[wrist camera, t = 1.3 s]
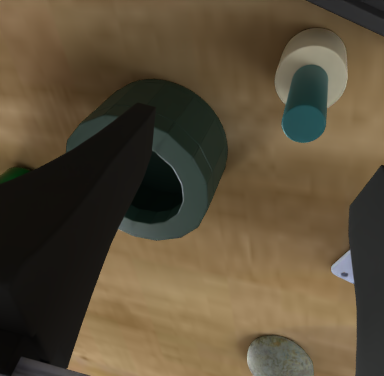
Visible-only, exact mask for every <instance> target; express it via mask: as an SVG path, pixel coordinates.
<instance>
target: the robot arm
mask: <svg viewBox="0 0 384 376" xmlns="http://www.w3.org/2000/svg"><path fill="white" fill-rule="evenodd" d="M155 113H156V107H154V106H150V105H146V104H142V103H138V102H137V103H136V104H134V105H133V106H131V107H130V108H129V109H128V110H126V111H125V112H124V113H123V114H121V115H120V116H119V117H118V118H116V119H115V120H114V121H112V122H111V123H110V124H109V125H107V126H106V127H104V128H103V129H102V130H100V131H99V132H98V133H96V134H95V135H93V136H92V137H90V138H89V139H87V140H86V141H84V142H83V143H81V144H80V145H78V146H77V147H75V148H73V149H72V150H70V151H69V152H67V153H65V154H63V155H62V156H60V157H58V158H56V159H55V160H53V161H51V162H49V163H47V164H45V165H43V166H41V167H39V168H37V169H35V170H32V171H30V172H28V173H25V174H23V175H21V176H18V177H16V178H14V179H11V180H9V181H7V182H4V183H1V184H0V376H89V375H86V374H82V373H78V372H75V371H71V370H68V369H66V368H68V365H69V361H70V358H71V355H72V352H73V349H74V346H75V343H76V340H77V337H78V334H79V331H80V328H81V325H82V322H83V319H84V316H85V313H86V311H87V308H88V305H89V302H90V299H91V296H92V293H93V291H94V288H95V285H96V283H97V280H98V277H99V274H100V272H101V269H102V266H103V264H104V261H105V258H106V256H107V253H108V251H109V248H110V245H111V243H112V241H113V238H114V236H115V234H116V232H117V230H118V228H119V226H120V224H121V222H122V220H123V218H124V216H125V214H126V212H127V210H128V208H129V206H130V204H131V202H132V200H133V198H134V196H135V194H136V192H137V190H138V188H139V186H140V184H141V182H142V180H143V178H144V175H145V172H146V169H147V167H148V164H149V161H150V158H151V155H152V145H153V135H154V124H155ZM349 244H350V250H349V251H348V252H346V253H345V254H344V255H343V256H342V257H341V258H340V259H339V260H338V261H337V262H335V263H334V264H333V265H332V267H331V272H332V273H333V274H334V275H336V276H338V277H340V278H343V279H345V280H347V281H349V282H351V283H353V284H354V286H355V294H356V306H357V351H356V375H355V376H384V165H381V166H380V168H379V169H378V170H377V171H376V173H375V174H374V175H373V177H372V178H371V179H370V181H369V182H368V183H367V184H366V186H365V187H364V188H363V190H362V191H361V192H360V194H359V195H358V196H357V197H356V199H355V200H354V201H353V203H352V204H351V205H350V209H349ZM343 272H345V273H343Z"/></svg>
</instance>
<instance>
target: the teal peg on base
mask: <svg viewBox="0 0 384 376" xmlns="http://www.w3.org/2000/svg"><path fill="white" fill-rule="evenodd" d="M347 79H348V71H347V53H346V48H345V45H344V43H343V41H342V40H341V38H340V37H339V36H338V35H336V34H335V33H334V32H332V31H330V30H327V29H323V28H311V29H307V30H304V31H302V32H300V33H298V34H296V35H295V36H294V37H293V38H292V39H291V40H290V41H289V42H288V43H287V45H286V47H285V48H284V51H283V53H282V56H281V59H280V62H279V65H278V68H277V71H276V74H275V89H276V92H277V94H278V96H279V98H280V99H281V101H282V102H283V103H284V104H285V105H286V106H285V110H284V114H283V118H282V129H283V132H284V133H285V135H286V136H287V137H288V138H290V139H291V140H293V141H296V142H301V143H305V142H310V141H313V140H315V139H317V138H318V137H319V136H321V134H322V133H323V132H324V130H325V127H326V116H327V108H328V107H330V106H331V105H333V104H334V103H335V102H336V101H337V100H338V99H339V98H340V97H341V95H342V94H343V92H344V90H345V88H346V85H347Z"/></svg>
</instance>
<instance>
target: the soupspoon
mask: <svg viewBox="0 0 384 376" xmlns="http://www.w3.org/2000/svg"><path fill="white" fill-rule="evenodd" d="M247 361H248V366H249V369H250V371H251V372H252V374H253V375H254V376H314V371H313V363H312V361H311V359H310V358H309V356H308V355H307V353H306V352H305V351H304V350H303V349H302V348H301V347H300V346H299V345H297V344H295V343H294V342H292V341H290V340H288V339H286V338H284V337H282V336H276V335H272V336H268V335H267V336H262V337H259V338H257V339H255V340H254V341H253V342H252V343H251V345H250V347H249V350H248V353H247Z"/></svg>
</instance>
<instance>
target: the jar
mask: <svg viewBox="0 0 384 376" xmlns="http://www.w3.org/2000/svg"><path fill="white" fill-rule="evenodd" d="M137 102H138V103H142V104H146V105H150V106H154V107H156V113H155V124H154V135H153V145H152V155H151V158H150V161H149V164H148V167H147V169H146V172H145V175H144V178H143V180H142V182H141V184H140V186H139V188H138V190H137V192H136V194H135V196H134V198H133V200H132V202H131V204H130V206H129V208H128V210H127V212H126V214H125V216H124V218H123V220H122V222H121V224H120V226H119V228H118V229H120V230H122V231H124V232H126V233H128V234H130V235H133V236H136V237H141V238H146V239H151V240H156V241H157V240H166V239H174V238H181V237H183V236H184V235H186V234H188V233H189V232H191V231H193V230H194V229H196V228H198V226H199V225H200V223H201V221H202V219H203V217H204V215H205V214H206V212H207V210H208V208H209V205H210V203H211V200H212V198H213V196H214V193H215V191H216V188H217V186H218V184H219V181H220V179H221V176H222V174H223V171H224V169H225V166H226V160H227V154H228V146H227V139H226V134H225V132H224V129H223V126H222V124H221V122H220V120H219V118H218V117H217V115H216V114H215V112H214V111H213V110H212V109H211V107H210V106H209V105H208V104H207V103H206V102H205V101H204V100H203V99H201V98H200V97H199V96H198V95H196V94H195V93H194V92H192V91H191V90H189V89H187V88H185V87H183V86H181V85H178V84H176V83H173V82H169V81H165V80H158V79H146V80H139V81H136V82H133V83H130V84H128V85H126V86H124V87H123V88H122V89H120V90H118V91H116V92H115V93H114V94H113V95H111V96H110V97H109V98H108V99H107V100H106V101H105V102H104V103H103V104H101V105H100V106H99V107H98V108H97V109H96V110H95V111H94V112H92V113H91V114H90V115H89V116H88V117H87V118H86V119H85V120H83V121H82V122H81V123H80V124H79V125H78V127H77V128H76V129H75V131H74V132H73V133H72V135H71V136H70V137H69V139H68V140H67V146H66V153H67V152H69V151H70V150H72V149H73V148H75V147H77V146H78V145H80V144H81V143H83V142H84V141H86V140H87V139H89V138H90V137H92V136H93V135H95V134H96V133H98V132H99V131H100V130H102V129H103V128H104V127H106V126H107V125H109V124H110V123H111V122H112V121H114V120H115V119H116V118H118V117H119V116H120V115H121V114H123V113H124V112H125V111H126V110H128V109H129V108H130V107H131V106H133V105H134V104H136V103H137Z"/></svg>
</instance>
